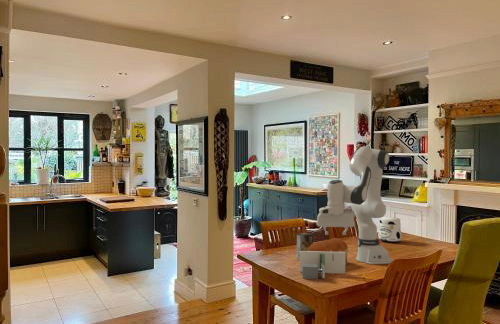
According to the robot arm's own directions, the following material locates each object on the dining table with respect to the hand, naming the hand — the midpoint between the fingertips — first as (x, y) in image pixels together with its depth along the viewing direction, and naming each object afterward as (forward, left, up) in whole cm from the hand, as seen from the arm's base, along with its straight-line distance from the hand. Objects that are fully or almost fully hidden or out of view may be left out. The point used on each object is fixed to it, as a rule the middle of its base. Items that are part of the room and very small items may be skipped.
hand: (335, 234), depth 204 cm
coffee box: (+14, -36, -24) cm, 46 cm away
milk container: (-57, -94, -24) cm, 113 cm away
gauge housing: (+6, -2, -23) cm, 24 cm away
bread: (+1, -24, -24) cm, 34 cm away
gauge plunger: (+12, 0, -23) cm, 26 cm away
